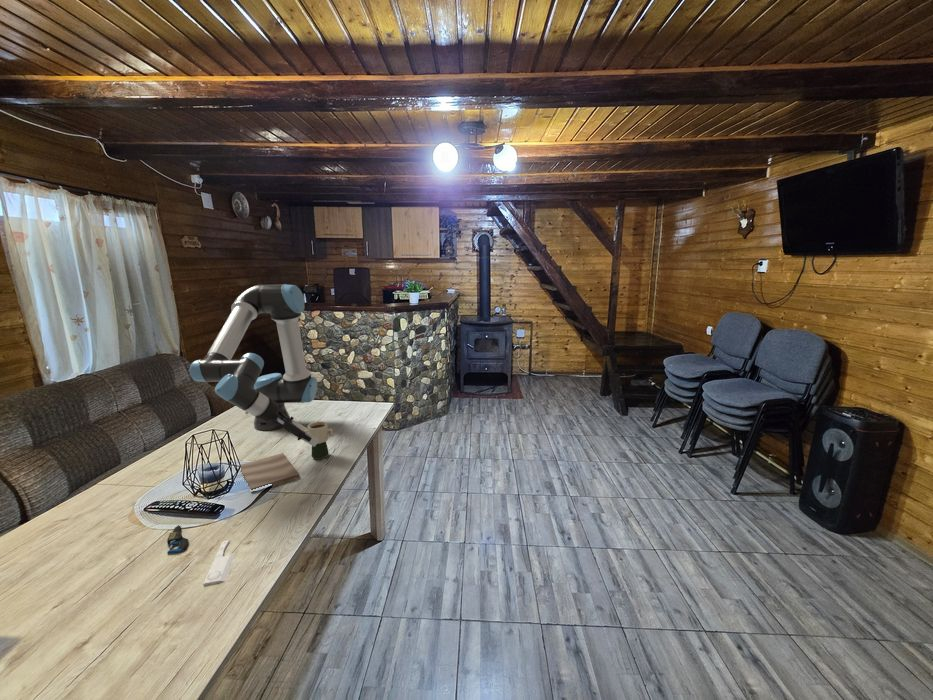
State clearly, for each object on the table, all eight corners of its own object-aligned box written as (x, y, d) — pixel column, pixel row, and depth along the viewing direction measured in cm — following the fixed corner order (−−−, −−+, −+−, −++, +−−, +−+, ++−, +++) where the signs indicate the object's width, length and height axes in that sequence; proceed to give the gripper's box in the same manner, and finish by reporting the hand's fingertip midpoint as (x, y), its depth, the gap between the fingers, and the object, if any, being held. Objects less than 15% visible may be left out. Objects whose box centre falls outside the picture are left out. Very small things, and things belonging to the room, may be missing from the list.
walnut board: (239, 468, 144) (238, 465, 143) (283, 456, 153) (283, 452, 152) (251, 493, 128) (250, 488, 128) (299, 477, 137) (299, 473, 137)
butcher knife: (244, 540, 107) (243, 537, 107) (228, 582, 93) (227, 578, 92) (222, 543, 105) (222, 540, 105) (203, 587, 91) (202, 582, 91)
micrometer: (185, 546, 102) (161, 552, 100) (186, 553, 102) (162, 559, 100) (194, 519, 113) (172, 524, 111) (194, 525, 113) (173, 530, 111)
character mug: (336, 451, 157) (334, 420, 154) (333, 460, 150) (330, 427, 147) (307, 453, 155) (304, 422, 153) (303, 462, 148) (299, 429, 146)
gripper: (247, 406, 144) (294, 434, 156) (262, 428, 125) (314, 458, 137) (261, 390, 146) (306, 419, 159) (279, 408, 127) (329, 439, 140)
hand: (310, 437), depth 148 cm, fingers open, 13 cm apart
